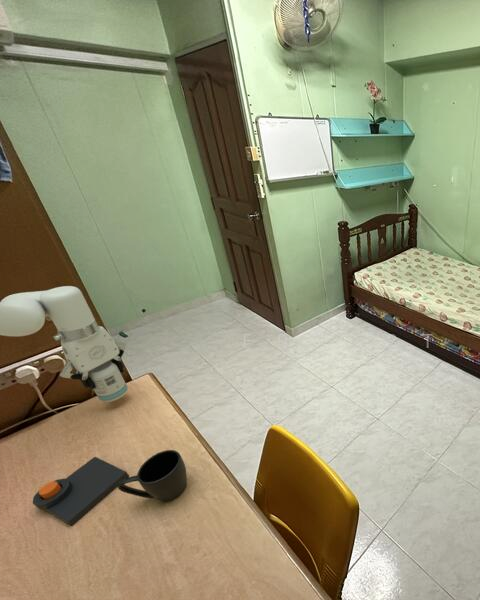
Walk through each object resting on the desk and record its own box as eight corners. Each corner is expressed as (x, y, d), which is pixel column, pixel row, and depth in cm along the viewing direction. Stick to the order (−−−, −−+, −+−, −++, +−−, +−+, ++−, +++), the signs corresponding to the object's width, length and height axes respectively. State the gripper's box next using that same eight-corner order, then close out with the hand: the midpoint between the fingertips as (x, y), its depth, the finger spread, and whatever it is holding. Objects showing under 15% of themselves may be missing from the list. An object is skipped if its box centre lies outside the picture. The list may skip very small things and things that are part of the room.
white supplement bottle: (130, 385, 102) (116, 356, 96) (127, 399, 97) (112, 369, 91) (103, 393, 99) (86, 363, 93) (98, 407, 93) (80, 377, 88)
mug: (137, 488, 76) (121, 464, 71) (194, 468, 80) (182, 444, 76) (128, 522, 69) (110, 497, 65) (191, 498, 74) (177, 474, 69)
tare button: (39, 496, 71) (35, 491, 70) (56, 483, 73) (52, 479, 72) (47, 501, 70) (43, 496, 69) (64, 488, 72) (60, 483, 71)
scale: (35, 507, 71) (26, 499, 70) (97, 460, 82) (90, 451, 80) (69, 528, 68) (61, 520, 66) (129, 476, 78) (123, 467, 76)
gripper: (47, 350, 78) (79, 402, 86) (123, 317, 92) (144, 364, 101) (29, 344, 80) (62, 395, 88) (106, 312, 94) (128, 359, 103)
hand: (106, 378), depth 94 cm, fingers closed on white supplement bottle, 7 cm apart
